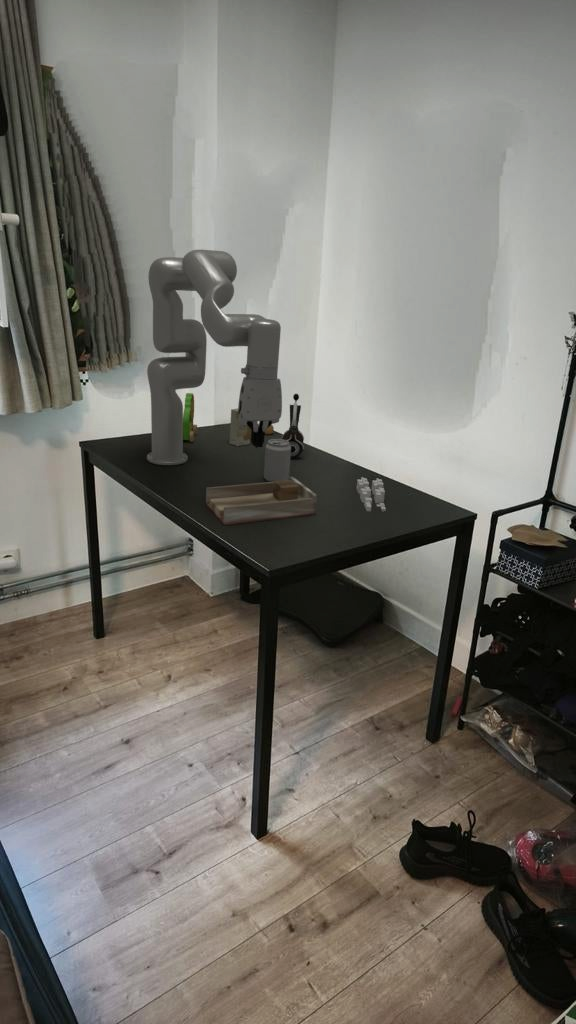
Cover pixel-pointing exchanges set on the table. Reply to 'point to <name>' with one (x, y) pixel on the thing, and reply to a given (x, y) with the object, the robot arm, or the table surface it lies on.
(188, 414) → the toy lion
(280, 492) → the walnut block
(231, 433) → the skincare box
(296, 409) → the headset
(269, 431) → the figurine
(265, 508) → the trap box
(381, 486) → the modular blocks
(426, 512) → the table surface
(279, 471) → the can
